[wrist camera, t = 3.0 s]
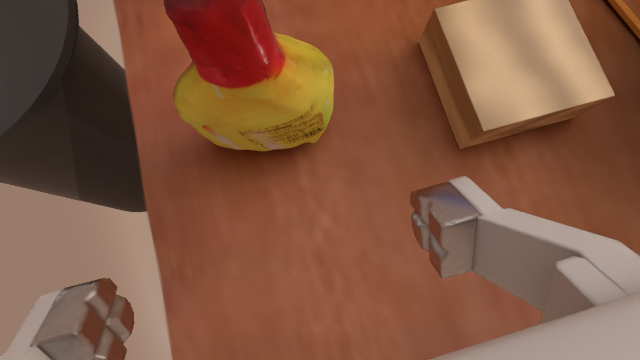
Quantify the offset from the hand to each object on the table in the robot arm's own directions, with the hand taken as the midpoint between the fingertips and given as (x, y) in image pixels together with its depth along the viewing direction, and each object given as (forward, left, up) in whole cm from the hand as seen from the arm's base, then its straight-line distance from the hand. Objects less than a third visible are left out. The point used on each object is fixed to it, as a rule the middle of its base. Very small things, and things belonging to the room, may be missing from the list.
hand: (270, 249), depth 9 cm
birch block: (+23, +11, -22) cm, 34 cm away
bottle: (0, +12, -23) cm, 26 cm away
